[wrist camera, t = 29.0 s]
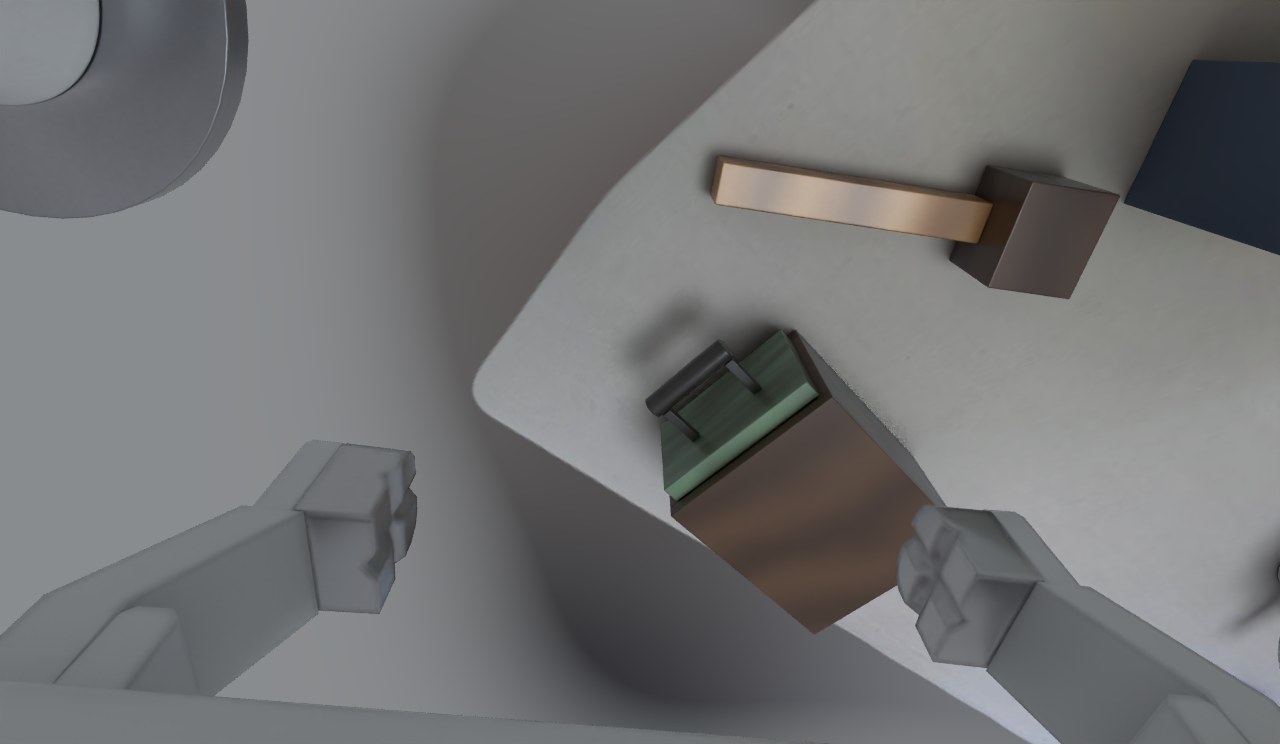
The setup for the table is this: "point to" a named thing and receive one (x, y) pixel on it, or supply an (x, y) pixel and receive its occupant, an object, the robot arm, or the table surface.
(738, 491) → the cabinet
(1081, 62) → the table surface
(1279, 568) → the mug
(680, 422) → the drawer
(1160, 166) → the stand
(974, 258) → the mallet
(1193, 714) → the robot arm
